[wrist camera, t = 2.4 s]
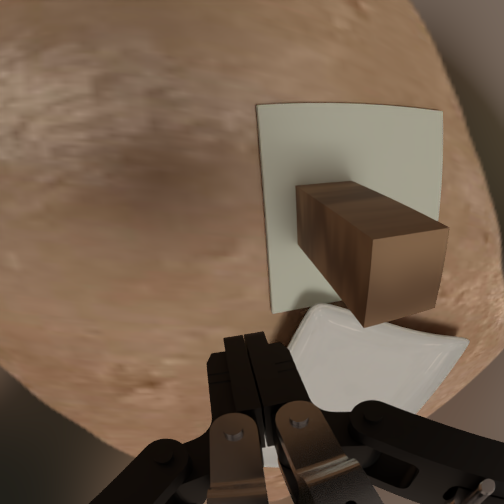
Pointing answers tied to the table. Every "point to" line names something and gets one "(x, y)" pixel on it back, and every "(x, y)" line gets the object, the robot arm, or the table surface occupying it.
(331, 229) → the walnut block
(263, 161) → the sage mat
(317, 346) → the square plate
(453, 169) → the table surface
